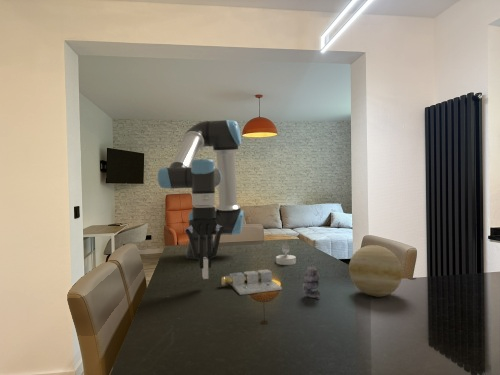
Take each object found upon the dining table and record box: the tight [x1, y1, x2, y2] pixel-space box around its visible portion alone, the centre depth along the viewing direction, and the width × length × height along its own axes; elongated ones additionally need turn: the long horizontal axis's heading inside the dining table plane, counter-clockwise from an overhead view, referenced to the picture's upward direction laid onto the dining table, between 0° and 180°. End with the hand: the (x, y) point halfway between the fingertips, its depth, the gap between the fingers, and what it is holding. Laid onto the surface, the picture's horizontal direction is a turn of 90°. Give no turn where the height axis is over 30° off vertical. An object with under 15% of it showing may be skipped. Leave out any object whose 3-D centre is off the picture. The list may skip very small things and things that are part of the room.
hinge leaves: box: [223, 269, 282, 296], centre depth 110 cm, size 20×14×4 cm
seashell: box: [302, 264, 321, 298], centre depth 95 cm, size 5×5×10 cm
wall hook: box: [275, 242, 297, 266], centre depth 140 cm, size 9×10×10 cm
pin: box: [220, 274, 261, 286], centre depth 110 cm, size 3×16×3 cm, turn 109°
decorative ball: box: [348, 244, 403, 297], centre depth 97 cm, size 15×15×15 cm
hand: (205, 277), depth 106 cm, fingers closed
